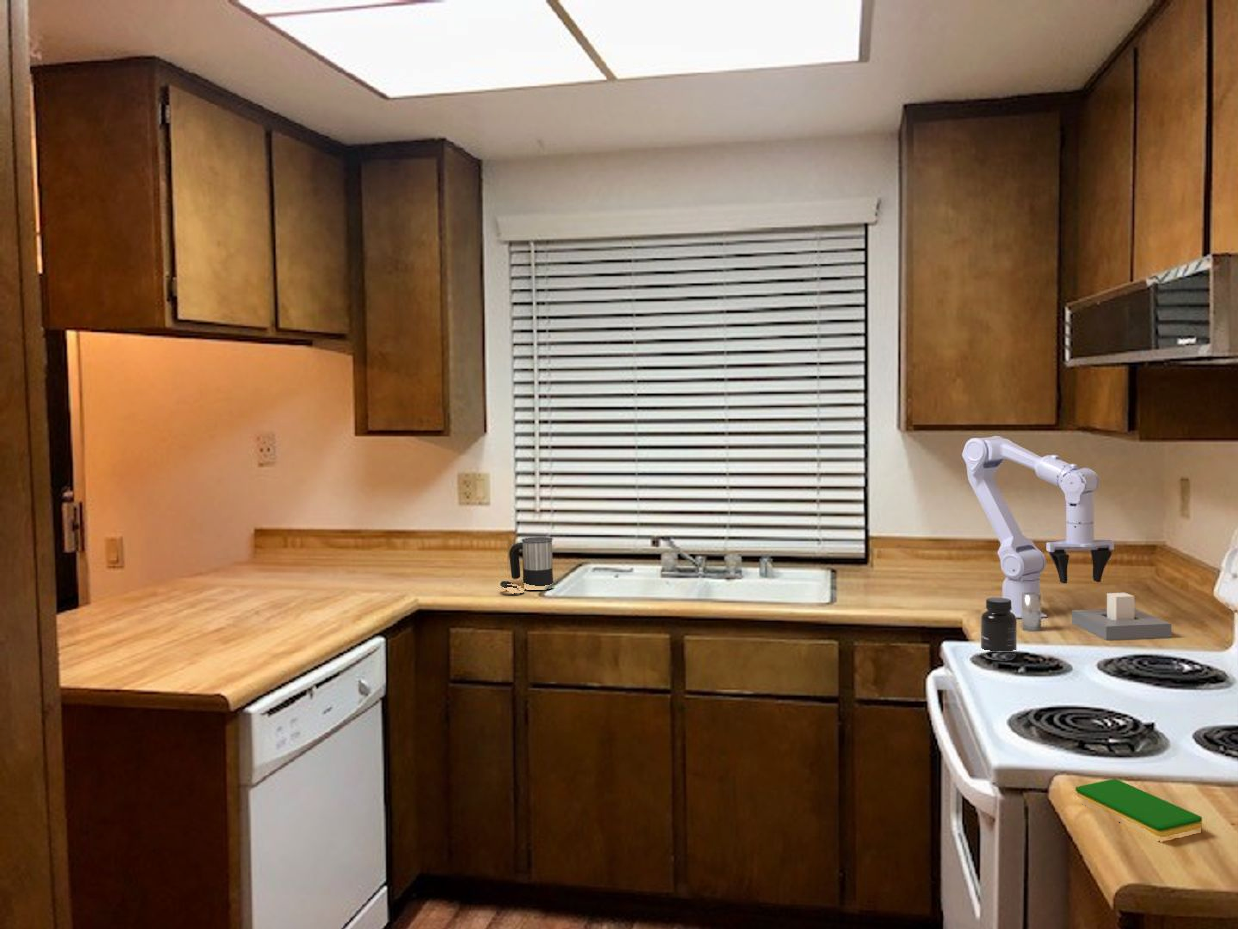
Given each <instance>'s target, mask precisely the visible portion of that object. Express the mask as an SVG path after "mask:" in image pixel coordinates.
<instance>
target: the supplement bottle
mask: <svg viewBox="0 0 1238 929" xmlns="http://www.w3.org/2000/svg"><path fill="white" fill-rule="evenodd" d="M985 609H986V610H985V611H984V612H982V614H981V616H980V649H981V648H982V649H984V650H990V651H1013V650H1017V648H1018V646H1017V643H1018V642H1017V641H1018V640H1017V639H1018V637H1017V634H1018V633H1017V632H1018V631H1017V628H1018V627H1017V624H1018V623H1017V622H1018V621H1017V619H1018V618H1016V616H1015V615H1014V614H1013V613H1011V612H1010V610H1012V607H1011V600H1010V599H1006V598H1002V597H988V598H987V599H986V600H985ZM1017 651H1018V650H1017Z"/></svg>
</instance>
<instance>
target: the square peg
mask: <svg viewBox="0 0 1238 929" xmlns="http://www.w3.org/2000/svg"><path fill="white" fill-rule="evenodd" d="M1106 609H1107V618H1109V619H1111V620H1134V609H1135V595H1132V594H1129V593H1127V592H1109V593H1106Z"/></svg>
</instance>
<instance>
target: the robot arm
mask: <svg viewBox="0 0 1238 929" xmlns="http://www.w3.org/2000/svg"><path fill="white" fill-rule="evenodd" d="M961 456H962V459H963V460H964V462H965V465H966V472H967V479H968V482H969V484H970V486H971V488H972V490H973V492H974V495H975V496H976V498H977V500H978V502H979V504H980V506H981V508H982V510H983V512H984V513H985V514H984V515H985V516H986V518H987V520H988V522H989V523H990V526H991V527H992V528H991V529H992V530H993V531H994V534H995V536H996V538H997V539H998V542H999V543H1000V545H999V548H998V550H997V555H998V557H999V562H1000V568H1001V571H1002V573H1003V574H1004V575H1005V579H1004V580H1003V582H1002V585H1001V586H1002V587H1001V588H1002V589H1001V591H1002V592H1001V595H1002V597H1001V598H1006V599H1010V600H1011V607H1012V610H1010V612H1011V613H1013V614H1014V615H1015V616H1016V619H1022V593H1028V592H1031V593H1039V594H1041V579H1040V578H1041V576H1042V575H1041V573H1042V572H1043V571H1044V570H1045V568H1046V564H1047V560H1046V557H1045V554H1044V552H1042V551H1041V550H1040V549H1039V548H1037V546H1036V545H1035V543H1034V541H1033V540H1032V539H1030V538H1029V537H1026V536H1025V535H1024V534H1023V532H1022V531H1021V528H1020V527H1019V525H1018V522H1017V521H1016V519H1015V517H1014V515H1013V513H1012V512H1011V509H1010V508H1009V506H1008V503H1007V502H1006V500H1005V497H1004V495H1003V494H1002V492H1001V490H1000V489H999V486H998V484H997V482H996V480H995V478H994V477H995V474H996V471H998V469H999V468H1000V466H1001V465H1002V463H1004V461H1005V459H1006V460H1008V461H1011V462H1014V463H1016V464H1019V465H1021V466H1024V467H1026V468H1028V469H1031V470H1033V471H1035V475H1036V476H1037V477H1038V479H1041V480H1043V481H1045V482H1047V483H1050V484H1052V485H1054V486H1056V487H1058V488H1061V491H1062V492H1063V493H1064V499H1065V508H1066V509H1065V523H1066V524H1065V529H1066V530H1065V534H1066V535H1065V536H1066V537H1065V540H1058V541H1049V542H1046V544H1045V545H1046V546H1045V547H1046V551H1047V552H1049V556H1050V557H1051V559H1052V561H1053V563H1054V565H1055V569H1056V571H1057V574H1058V577H1059V578H1058V579H1059V582H1060V583H1062V584H1067V583H1068V566H1069V559H1070V555H1069V553H1067V552H1069V551H1071V552H1072V551H1090V555H1091V560H1092V561H1091V562H1092V579H1093V580H1092V581H1094V582H1097V583H1101V581H1102V576H1103V573H1104V570H1105V568H1106V565H1107V564H1108V562H1109V560H1110V558H1111V557H1112V550H1115V542H1114V540H1111V539H1095V494H1094V493H1095V492H1096V490H1098V488H1099V485H1100V480H1099V476H1098V475H1097V473H1096V472H1095V471H1094V470H1092V469H1091V468H1090V467H1083V468H1079V467H1078V464H1076V463H1068V462H1066V461H1063V460H1062V459H1060V455H1058V454H1057V455H1056V454H1051V455H1050V454H1049V455H1048V454H1047V455H1044V456H1040V455H1038V454H1036V453H1035V452H1032V451H1030V450H1028V449H1027V448H1024V447H1022V446H1021V445H1019V444H1016V443H1015V442H1013V441H1011V440H1010V439H1008V438H1004V437H1002V436H999V435H994V436H991V437H990V436H989V437H974V438H973V437H972V438H970V439H968V440H967V441H966V443H965V445H964V448H963V450H962V453H961ZM1046 617H1048V616H1047V614H1045V613H1044V612H1042V611H1041V618H1046Z"/></svg>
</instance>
